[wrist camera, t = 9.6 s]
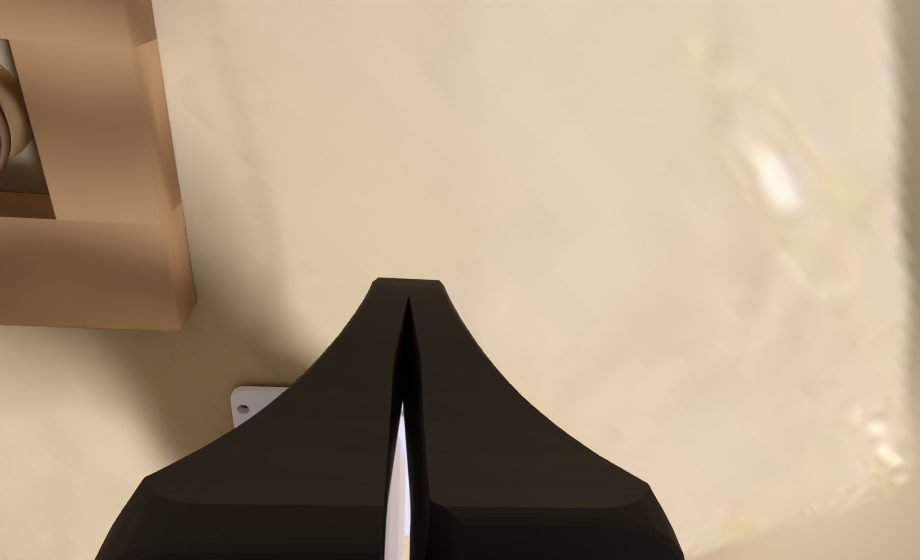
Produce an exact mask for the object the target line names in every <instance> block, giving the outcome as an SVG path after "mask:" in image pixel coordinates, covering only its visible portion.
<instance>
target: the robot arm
mask: <svg viewBox="0 0 920 560" xmlns="http://www.w3.org/2000/svg"><path fill="white" fill-rule="evenodd" d="M230 400H231V408H232V415H233V423H234V429H233V430H231V431H230V432H228V433H226V434H225V435H223V436H222V437H220V438H218V439H217V440H215V441H213V442H212V443H210V444H208V445H206V446H205V447H203V448H201V449H199V450H197V451H196V452H194V453H192V454H190V455H188V456H186V457H184V458H182V459H180V460H178V461H176V462H174V463H172V464H171V465H169V466H167V467H165V468H163V469H161V470H159V471H157V472H155V473H153V474H151V475H149V476H146V477H145V478H144V479H143V480H142V482H141V483H140V484H139V486H138V487H137V489H136V490H135V492H134V493H133V495H132V496H131V498H130V499H129V501H128V502H127V504H126V505H125V506H124V508H123V510H122V511H121V513H120V514H119V516H118V517H117V519H116V520H115V522H114V523H113V525H112V527H111V529H110V531H109V533H108V534H107V536H106V538H105V540H104V542H103V544H102V546H101V548H100V550H99V552H98V554H97V556H96V558H95V560H404V551H405V537H406V536H407V535H408V534H409V531H410V560H685V559H684V554H683V552H682V550H681V547H680V545H679V542H678V540H677V538H676V535H675V533H674V531H673V528H672V526H671V524H670V522H669V520H668V518H667V516H666V515H665V513H664V511H663V509H662V507H661V505H660V504H659V502H658V500H657V499H656V497H655V495H654V493H653V492H652V490H651V488H650V486H649V484H648V483H646V482H644V481H642V480H641V479H639V478H637V477H636V476H634V475H632V474H630V473H629V472H627V471H625V470H623V469H622V468H620V467H618V466H616V465H615V464H613V463H611V462H610V461H608V460H606V459H604V458H603V457H601V456H599V455H598V454H596V453H595V452H593V451H592V450H590V449H589V448H587V447H586V446H584V445H583V444H582V443H580V442H579V441H577V440H576V439H574V438H573V437H571V436H570V435H569V434H567V433H566V432H565V431H563V430H562V429H561V428H559V427H558V426H557V425H555V424H554V423H553V422H552V421H551V420H549V419H548V418H547V417H546V416H545V415H543V414H542V413H541V412H540V411H539V410H537V409H536V408H535V407H534V406H533V405H531V404H530V403H529V402H528V401H527V400H526V399H525V398H524V397H523V396H522V395H521V394H520V393H519V392H518V391H517V390H516V389H515V388H514V387H513V386H512V385H511V384H510V383H509V382H508V381H507V380H506V379H505V377H504V376H503V375H502V374H501V373H500V372H499V371H498V369H497V368H496V367H495V366H494V365H493V363H492V362H491V361H490V360H489V358H488V357H487V356H486V354H485V353H484V352H483V351H482V349H481V348H480V346H479V345H478V344H477V342H476V341H475V339H474V338H473V336H472V335H471V333H470V332H469V330H468V329H467V327H466V326H465V324H464V323H463V321H462V320H461V318H460V316H459V315H458V313H457V311H456V309H455V308H454V306H453V304H452V302H451V300H450V298H449V296H448V294H447V292H446V290H445V287H444V285H443V284H442V283H441V282H440V281H439V280H422V279H401V278H379V277H378V278H377V279H376V280H375V281H373V282H372V285H371V287H370V289H369V291H368V293H367V295H366V297H365V298H364V300H363V302H362V303H361V305H360V306H359V308H358V309H357V311H356V312H355V314H354V315H353V317H352V318H351V319H350V321H349V322H348V323H347V325H346V326H345V328H344V329H343V330H342V332H341V333H340V334H339V335H338V337H337V338H336V339H335V340H334V341H333V342H332V344H331V345H330V346H329V347H328V348H327V349H326V351H325V352H324V353H323V354H322V355H321V356H320V357H319V358H318V360H317V361H316V362H315V363H314V364H313V365H312V366H311V367H310V368H309V369H308V370H307V371H306V372H305V373H304V374H303V375H302V376H301V377H299V378H298V379H297V380H296V381H295V382H294V383H293V384H292V385H291V386H290V387H255V386H241V387H237V388H235V389H234V391H233V392H232V395H231V399H230ZM240 405H246V406H247V407H249V408H244V407H242V406H240Z"/></svg>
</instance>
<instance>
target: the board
mask: <svg viewBox="0 0 920 560" xmlns="http://www.w3.org/2000/svg"><path fill="white" fill-rule="evenodd" d="M0 39H8V40H9V43H10V47H11V51H12V55H13V59H14V62H15V66H16V70H17V74H18V77H19V81H20V85H21V89H22V92H23V96H24V100H25V104H26V107H27V111H28V115H29V119H30V122H31V126H32V130H33V134H34V137H35V141H36V145H37V149H38V152H39V156H40V160H41V164H42V167H43V171H44V175H45V179H46V183H47V186H48V190H49V194H33V193H15V192H0V325H19V326H47V327H76V328H105V329H133V330H162V331H180V329H181V327H182V326H183V324H184V322H185V321H186V319H187V317H188V316H189V314H190V312H191V311H192V309H193V307H194V306H195V304H196V295H195V288H194V282H193V275H192V269H191V262H190V255H189V249H188V242H187V235H186V229H185V222H184V216H183V209H182V202H181V196H180V189H179V182H178V176H177V169H176V163H175V156H174V149H173V143H172V136H171V130H170V123H169V116H168V110H167V103H166V96H165V90H164V83H163V77H162V70H161V63H160V57H159V50H158V43H157V37H156V30H155V24H154V17H153V10H152V4H151V0H0Z"/></svg>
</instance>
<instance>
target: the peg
mask: <svg viewBox="0 0 920 560" xmlns="http://www.w3.org/2000/svg"><path fill="white" fill-rule="evenodd" d="M32 136H33V130H32V126H31V122H30V119H29V115H28V111H27V107H26V104H25V100H24V96H23V92H22V89H21V86H20V84H19V83H18V82H17V80H16V79H15V78H14V77H13V76H12V75H11V74H10V73H9V72H8V71H7V70H5V69H4V68H3V67H2V66H0V171H1V170H2V169H3V168H4V166H5V165H6V163H7V161H8V159H10V158H12V157H13V156H15V155H17V154H19V153H20V152H22V151H23V150H24V149H25V148H26V147H27V145H28V144H29V143H30V141H31V139H32Z"/></svg>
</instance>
